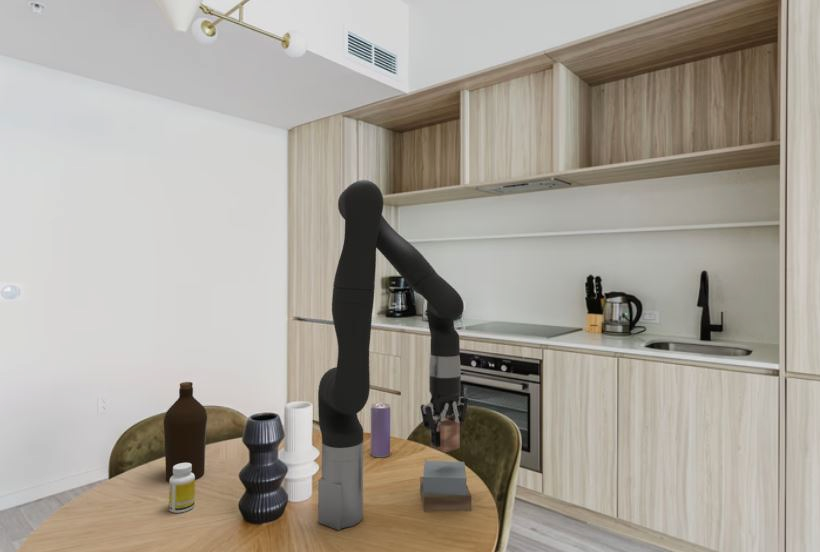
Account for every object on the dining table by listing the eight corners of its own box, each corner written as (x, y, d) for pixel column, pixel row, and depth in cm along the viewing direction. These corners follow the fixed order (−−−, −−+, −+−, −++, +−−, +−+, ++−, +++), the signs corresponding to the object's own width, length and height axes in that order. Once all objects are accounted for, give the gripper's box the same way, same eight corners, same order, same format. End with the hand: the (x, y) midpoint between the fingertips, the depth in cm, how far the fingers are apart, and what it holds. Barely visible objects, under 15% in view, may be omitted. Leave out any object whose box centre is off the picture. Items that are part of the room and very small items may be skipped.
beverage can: (389, 458, 144) (389, 408, 144) (369, 458, 144) (369, 407, 144) (390, 451, 150) (391, 402, 150) (371, 450, 150) (371, 402, 150)
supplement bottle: (199, 504, 114) (200, 463, 114) (182, 515, 109) (182, 471, 109) (181, 501, 115) (182, 460, 115) (163, 511, 110) (163, 468, 110)
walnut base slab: (471, 512, 112) (471, 495, 112) (423, 514, 111) (424, 496, 111) (463, 491, 123) (463, 476, 123) (420, 492, 122) (420, 476, 122)
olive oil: (172, 488, 122) (173, 389, 123) (157, 476, 130) (157, 383, 130) (213, 475, 130) (214, 383, 130) (196, 465, 137) (197, 377, 138)
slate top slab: (466, 495, 112) (466, 478, 112) (423, 494, 112) (423, 476, 112) (464, 477, 122) (464, 461, 122) (424, 476, 122) (424, 460, 122)
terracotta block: (444, 452, 113) (444, 427, 113) (430, 446, 117) (430, 422, 117) (459, 447, 116) (459, 423, 116) (445, 442, 120) (445, 418, 120)
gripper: (433, 379, 109) (433, 455, 109) (476, 371, 118) (476, 441, 118) (412, 374, 115) (412, 446, 115) (455, 367, 124) (454, 433, 124)
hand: (444, 443), depth 117 cm, fingers closed on terracotta block, 5 cm apart
